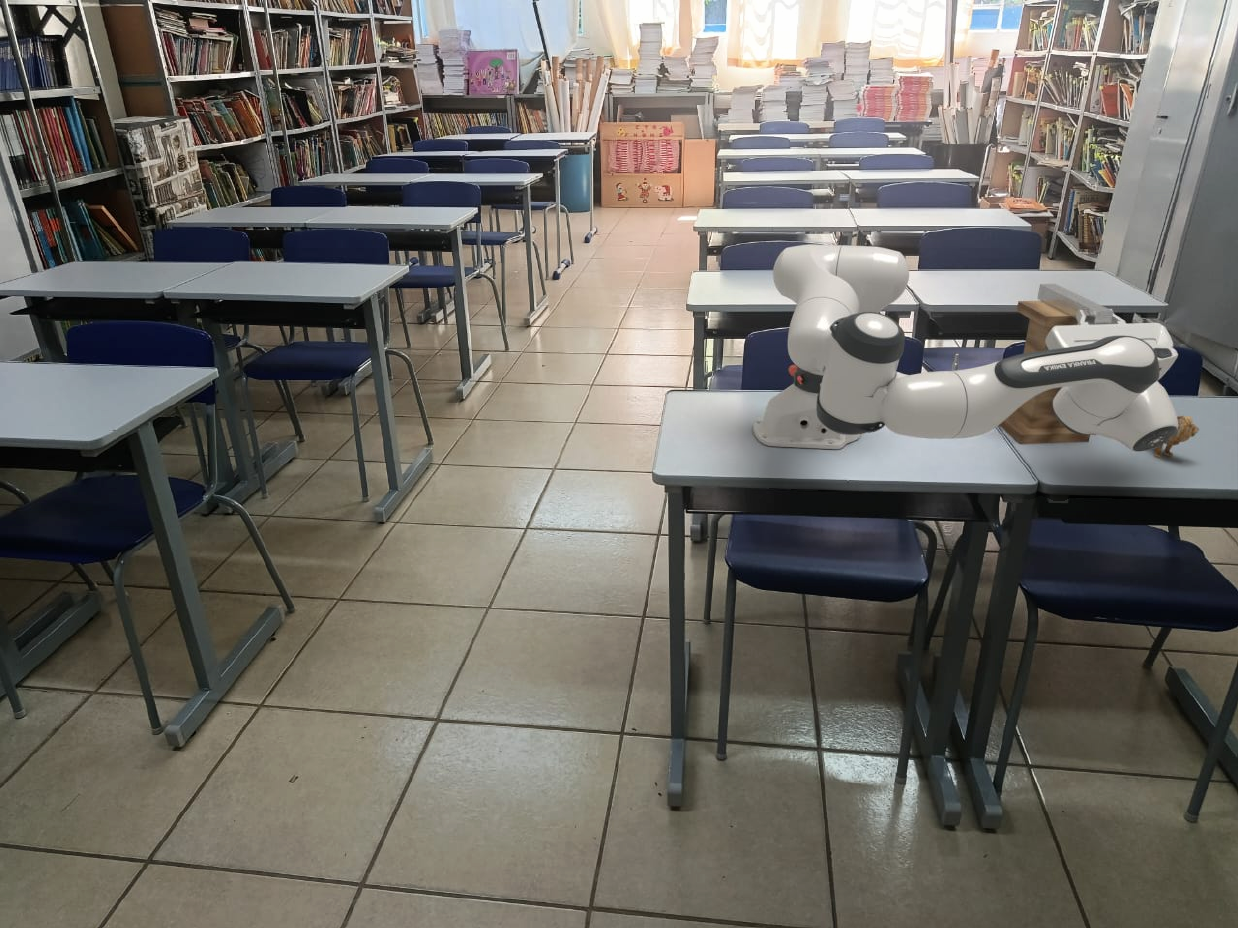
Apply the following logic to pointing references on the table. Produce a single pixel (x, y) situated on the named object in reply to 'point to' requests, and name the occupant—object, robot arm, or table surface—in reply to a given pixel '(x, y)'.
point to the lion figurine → (1179, 435)
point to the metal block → (1073, 304)
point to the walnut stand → (1037, 413)
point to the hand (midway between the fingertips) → (1093, 311)
